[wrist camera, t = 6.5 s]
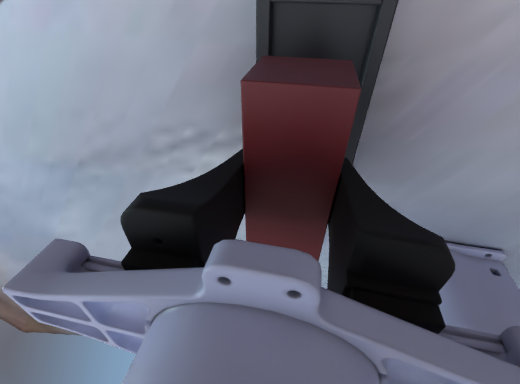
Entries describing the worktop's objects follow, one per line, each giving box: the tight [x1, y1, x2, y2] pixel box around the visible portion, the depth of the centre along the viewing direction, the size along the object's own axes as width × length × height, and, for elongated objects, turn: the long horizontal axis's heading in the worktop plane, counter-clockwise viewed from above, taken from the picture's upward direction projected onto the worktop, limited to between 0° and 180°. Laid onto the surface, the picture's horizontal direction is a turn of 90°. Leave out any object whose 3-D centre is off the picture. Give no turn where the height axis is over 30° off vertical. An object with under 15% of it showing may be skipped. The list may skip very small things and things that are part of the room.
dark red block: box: [241, 56, 361, 261], centre depth 13 cm, size 4×10×4 cm, turn 179°
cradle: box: [256, 0, 398, 164], centre depth 19 cm, size 8×14×2 cm, turn 179°
